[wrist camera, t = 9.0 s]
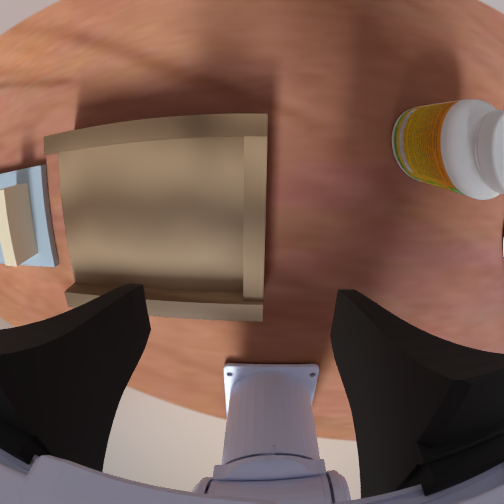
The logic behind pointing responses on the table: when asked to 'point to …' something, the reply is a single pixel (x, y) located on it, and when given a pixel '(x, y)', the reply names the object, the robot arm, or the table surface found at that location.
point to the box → (168, 212)
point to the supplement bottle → (453, 146)
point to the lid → (26, 219)
